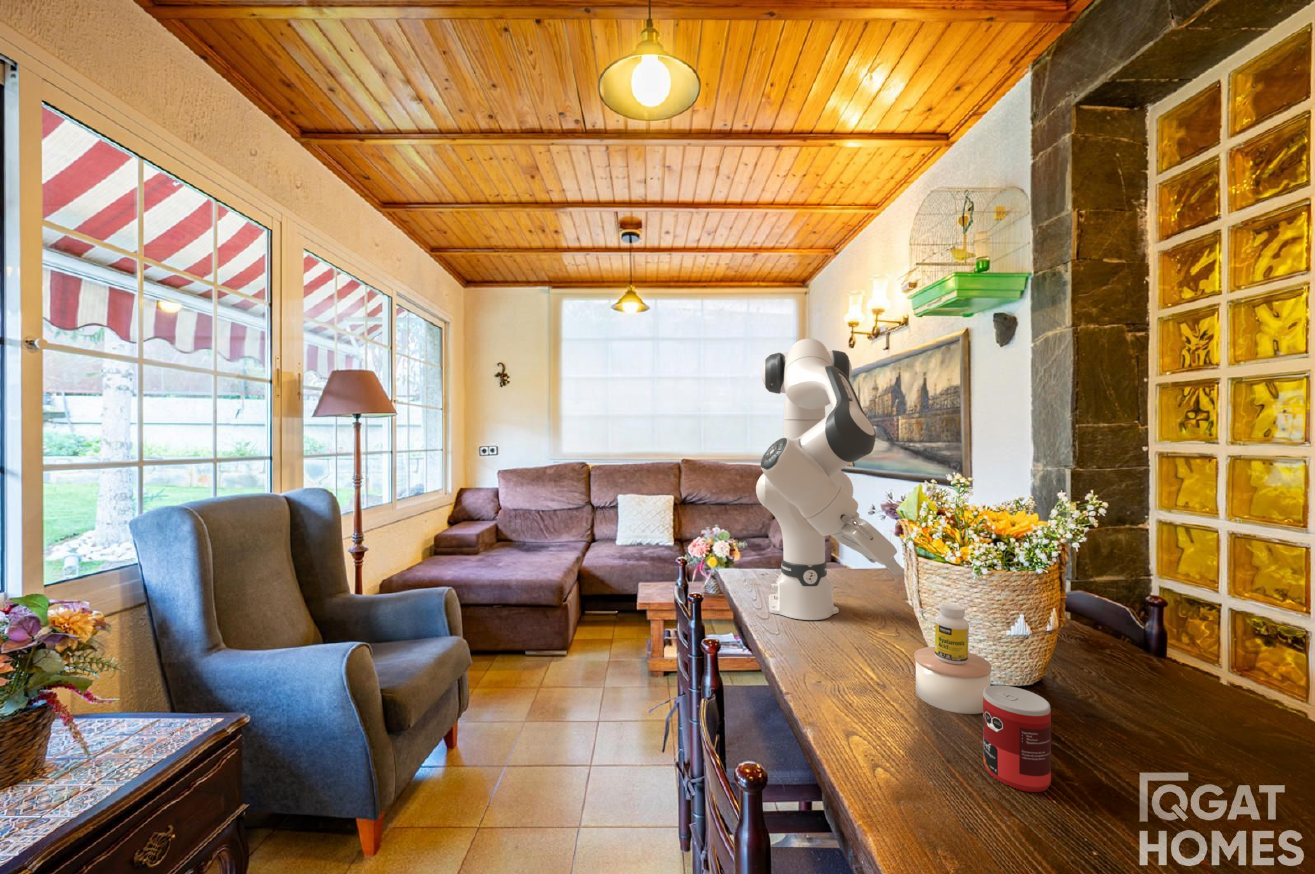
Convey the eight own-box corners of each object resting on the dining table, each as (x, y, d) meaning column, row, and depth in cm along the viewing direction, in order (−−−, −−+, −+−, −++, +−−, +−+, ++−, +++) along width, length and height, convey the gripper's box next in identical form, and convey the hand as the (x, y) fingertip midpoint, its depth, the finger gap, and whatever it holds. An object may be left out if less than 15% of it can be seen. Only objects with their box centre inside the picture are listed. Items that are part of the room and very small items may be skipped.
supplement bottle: (933, 660, 98) (934, 607, 98) (935, 651, 103) (936, 599, 103) (967, 667, 95) (968, 612, 95) (968, 657, 100) (969, 604, 100)
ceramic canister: (902, 682, 105) (902, 646, 105) (965, 682, 105) (965, 646, 105) (936, 715, 92) (936, 674, 93) (1008, 714, 93) (1007, 673, 93)
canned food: (987, 752, 81) (987, 679, 81) (1053, 773, 76) (1052, 695, 76) (978, 777, 75) (978, 698, 75) (1049, 801, 70) (1048, 717, 70)
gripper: (868, 507, 88) (927, 566, 88) (826, 494, 109) (874, 542, 109) (841, 534, 88) (900, 593, 88) (804, 516, 109) (853, 565, 109)
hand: (886, 565), depth 99 cm, fingers open, 8 cm apart
